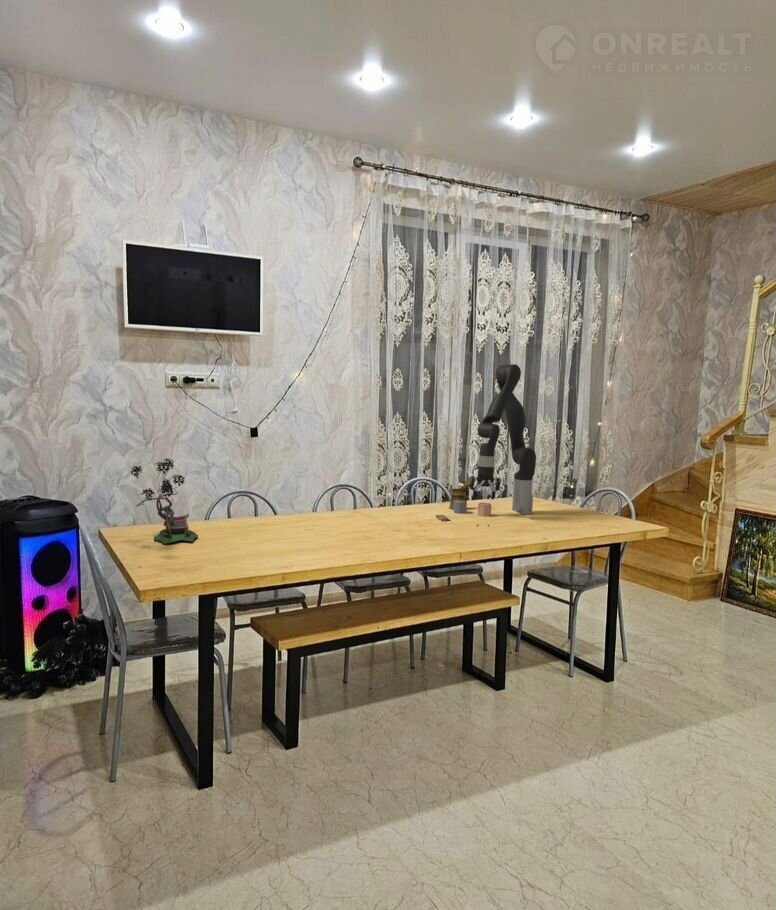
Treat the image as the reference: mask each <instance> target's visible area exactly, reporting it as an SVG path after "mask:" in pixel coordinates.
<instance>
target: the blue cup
mask: <svg viewBox="0 0 776 910" xmlns="http://www.w3.org/2000/svg"><path fill="white" fill-rule="evenodd" d="M467 507H468V500H467V501H464V500H455V501H454V510H453V513H454V514H457V515H458V514H459V515H464V514H467V509H468V508H467Z"/></svg>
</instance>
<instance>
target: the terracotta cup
mask: <svg viewBox="0 0 776 910" xmlns="http://www.w3.org/2000/svg"><path fill="white" fill-rule="evenodd" d="M477 505H478V506H477V516H478V517H485V518H487V517H491V516H492V503H490V502H479V503H478V504H477Z"/></svg>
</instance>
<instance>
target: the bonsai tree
mask: <svg viewBox="0 0 776 910" xmlns="http://www.w3.org/2000/svg"><path fill="white" fill-rule="evenodd" d="M163 461H164V462H163ZM163 461H161V462H157V463H155V465H157V468H156V471H157V472H162V474H163V476H162V478H163V479H162V481H161V485H160V486H159V487H158V491H157V492H158V496H157V497H153V495H157V494H156V492H155V491H153V489H152V487H149V488H145V489H143V490H142V492H141V493H140V495H145V498H144V500H142V501H141V502H139V503H138V504H136V505H135V507H138V506H139V507H140V506H141V505H142V506H144V503H145V502H147V501H149V502H151V501H152V500H153V501H154V500H156V503H155V505H156V510H157V514H158V516H159V517H160V518H161V519H162V520H164V522H163V524H162V525H163V527H165V528H164V529H161V530H160V531H159V533H158V534H157V535H154V536H153V539H154V541H156V542H160V543H161V544H163V545H164V546H165V545H169V544H171V543H176V542H177V543H178V542H180V541H181V542H182V541H184V542H188V543H193V542H194V541H195V539H196V538H198V537H199V535H198V534H197V533H196V532H195V531H193V530H191V529H189V524H188V521H187V518H188V517H189V516H190V514H189V513H186V514H184V515H180V516H174V515H175V511H174V510H173V509H171V508H172V507H173V503H172V502H173V501H174V498H173V496H174V495H175V496H176V495H178V491H177V490H176V488H178V487H180V486H181V485H184V484H185V476H183V475H180V474H177V475H176V474H173V475H172V477H173V480H172V482H171V481H170V480H169V479H167V473H168V472H169V471H170V469H171V470H173V469H174V467H175V465H174V459H172V458H171V459H170V458H169V457H168V458H163ZM131 469H132V470H130V475H133V477H135V478H136V479H139V477H138V476H139V475H140V474H145V472H142V471H143V468H142V466H141V465H140V466H137V465H136V466H135V465H133V467H131ZM145 475H148V474H145ZM150 477H152V476H150ZM165 477H166V478H165ZM152 478H153V479H155V480H157V481H158V483H160V481H159V480H158V479H157V478H155V477H152ZM171 483H173V484H174V485H175V486H177V487H174V486H173V485H172V484H171ZM175 491H176V493H174V492H175ZM170 497H171V499H172V500H170V499H169V498H170ZM161 500H165V501H166V503H168V505H165V506H164V507H163V506H162V502H161Z"/></svg>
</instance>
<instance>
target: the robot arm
mask: <svg viewBox="0 0 776 910" xmlns="http://www.w3.org/2000/svg"><path fill="white" fill-rule="evenodd" d="M521 375H522V370H521V367H520V366H519V365H518V364H516V363H515V364H513V363H511V364H503V365H499V366H498V367H497V368H496V370H495V379H496V382H497V385H498V390H499V392H498V393H497V394H496V395H495V396H494V398H493V399H492V400H491V402H490V405H489V408H488V410H487V413H486V415H485V416H484V417H483V419H481V421H480V423H479V424H478V427H477V434H478V436H479V437H480V438H484V439H488V441H487V442H482V443H481V444H480V447H479V457H478V462H477V464H478V465H477V476H476V477H475V476H474V477H471V480H470V487H469V490H471V491H472V492H473V493H472V497H473V499H475V500H477V499H478V490H479V489H480V488H481V487H484V488H485V487H488V488H490V489H491V494H490V499H491V500H495V498H496V492H498V491H500V489H501V487H500V486H501V479H500V478H499V477H494V475H495V474H494V473H495V464H496V463H495V455H496V454H495V453H496V450H495V449H496V447H497V443H498V440H499V437H500V434H501V428H500V426H499V425H498V424H496V423H498V422H500V421H501V420H502V417H503V414H504V415H505V419H506V423H507V427H508V429H507V430H508V434H509V438H510V447H511V448H510V449H511V456H512V460H513V462H514V463H515V464H516V465H519V466H518V467H519V468H518V471H516V472H514V474H513V491H512V503H511V504H512V507H511V511H514V512H516V513H519V514H521V515H523V514H526V515H532V514H533V507H534V494H533V481H534V480H533V479H534V476H535V474H536V473H535V472H536V464H537V455H536V451H535V450H534V449H533V448H531V447H526V444H525V439H524V432H525V428H526V423H527V421H526V413H525V410H524V407H523V404H522V403H521V401H519V399H518V398H517V396H515V394H514V390H515V389H516V387H517V385H518V383H519V381H520V380H521ZM476 481H477V483H476V484H475V482H476ZM493 483H495V486H494V484H493ZM474 485H475V486H474Z"/></svg>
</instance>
